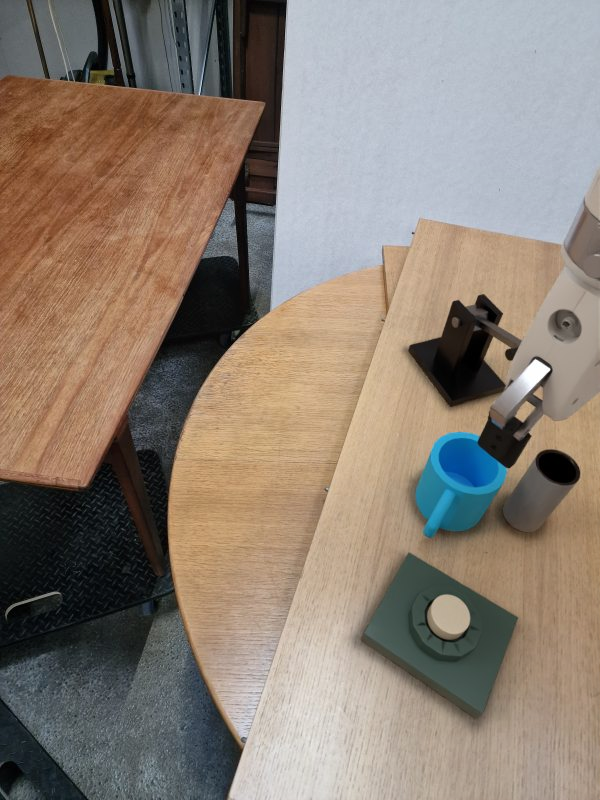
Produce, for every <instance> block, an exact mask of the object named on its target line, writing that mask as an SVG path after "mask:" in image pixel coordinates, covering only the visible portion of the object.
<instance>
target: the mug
mask: <svg viewBox="0 0 600 800" xmlns="http://www.w3.org/2000/svg"><path fill="white" fill-rule="evenodd" d="M479 437H480V435H478V434H475V433H472V432H466V431H454V432H448V433H446V434H444V435H441V436H440V437H439V438H437V440H436V441H435V442H433V445H432V448H431V450H430V453H429V455H428V457H427V460H426V463H425V465H424V468H423V471H422V473H421V476H420V478H419V480H418V483H417V485H416V488H415V492H414V493H415V495H414V497H415V503H416V505H417V508H418V510H419V511H420V513H421V515H422V516H423V517H424V519H426V521H427V522H426V524H425V525H424V528H423V530H422V534H423V536H424V537H425V538H427V539H433V538H434V537H435V536H436V534H437V532H438V531H439V529H442V530H445V531H450V532H455V533H457V532H463V531H468V530H469V529H472V528H474V527H476V525H477V524H478V523H479V522H480V521H481V519H482V518H483V517H484V515H485V514H486V512H487V509H488V508H489V507H490V505H491V504H492V502H493V500H494V499H495V497H496V496H497V494H498V492H499V491H500V489H501V488H502V486H503V484H504V483H505V481H506V477H507V474H508V468H506V467H504V466H503V465H502V464H501V463H499V462H498V461H497V460H496V459H494V458H493V457H491V456H490V455H489V454H488V453H487V452H486V451H484V450H483V449H482V448H481V447H480V446H479V445H478V443H477V442H478V439H479Z"/></svg>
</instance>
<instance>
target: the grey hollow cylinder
mask: <svg viewBox="0 0 600 800" xmlns="http://www.w3.org/2000/svg"><path fill="white" fill-rule="evenodd" d="M580 479H581V469H580V466H579V464H578V462H577V461H575V459H574V458H573V457H572V456H570V455H569V454H568V453H566V452H564V451H562V450H558V449H552V448H550V449H549V448H548V449H543V450H541V451H539V452H538V453H537V454H536V456H535V457H534V459H533V460H532V461H531V463H530V464H529V466H528V468H527V469H526V470H525V472H524V474H523V475H522V476H521V478H520V480H519V481H518V483H516V486H515V487H514V488H513V490H512V491H511V493H510V494H509V496H508V497H507V499H506V501H505V503H504V504H503V506H502V513H503V517H504V519H505V520H506V522H507V523H508V524H509V526H511V527H512V528H514V529H515V530H517V531H520V532H523V533H534V532H536V531H538V530H539V529H540V528H541V527H542V526H543V525H544V523H546V521H547V520H548V518H549V517H550V516H552V513H553V512H554V511H555V510H556V509H557V507H558V506H559V505H560V504H561V503H562V501H563V500H564V499H565V498H566V497H567V496H568V494H569V493H570V492H571V490H572V489H573V488H574V487H575V486H576V484H577V483H578V482H579V481H580Z"/></svg>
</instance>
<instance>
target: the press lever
mask: <svg viewBox="0 0 600 800" xmlns="http://www.w3.org/2000/svg"><path fill="white" fill-rule="evenodd" d="M465 307H466V308H467V309H468V310H469V311H470V312H471V314H472V315H473V316H474V317H475V318H476V319H477V323H476V325H475V328H474V330H473V331H477V330H481V329H482V330H484V331H485V332H487V333H488V334H490V335H492V336H493V338H495V339H496V340H498V341H500V343H503V344H504V345H506V346H508V347H509V348H507V349H505V351H504V357H505V359H506V360H507V361H509V362H512V360H513V358H514V356H515V354H516V352H517V350H518V348H519V346H520V344H521V342H522V340H523V339H521V338H519V337H517V336H516V335H514V334H512V333H511V332H509V331H507V330H505V329H504V328H502V327H500V326H499V325H498V326H497V325H495V324H494V323H492V322H490V321H489V320H487V318H488V311H486V310H484V309H482V308H481V307H479V306H477V305H476V304H475V303H474V304H471V305H467V306H466V305H465Z"/></svg>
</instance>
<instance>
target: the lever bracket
mask: <svg viewBox="0 0 600 800" xmlns="http://www.w3.org/2000/svg"><path fill="white" fill-rule="evenodd" d="M475 304H476V305H477V306H479V307H481V308H482V309H484V310H486V311H488V318H487V320H489V321H490V322H492V323H494V324H495V325H497V326H499V325H500V322H501V320H502V317H503V316H504V313H503V311H501V310H500V308H499V307H498V306H496V304H495V303H493V301H492V300H491V299H490V298H488V296H487V295H485V293H482V294H478V295H477V297H476V300H475V303H474V305H475ZM447 314H448V315H447V318H446V320H445V324H444V327H443V330H442V333H441V336H439V337H435V338H431V339H428V340H424V341H420V342H416V343H412V344H409V346H408V349H407V351H408V352H409V354H410V355H411V356H412V358H413V359H414V361H415V362H416V363H417V365H418V366H419V367H420V368H421V370H422V371H423V373H424V374H425V375H426V377H427V378H428V379H429V380H430V382H431V383H432V384H433V386H434V387H435V388H436V390H437V391H438V393H439V394H440V395H441V397H442V398H443V399H444V400H445V402H446V403H447V404H448V406H449V407H450V408H451V407H453V406H458V405H460V404H461V405H462V404H464V403H468V402H470V401H474V400H477V399H481V398H484V397H488V396H490V395H495V394H497V393H502V392H504V391H505V390H506V388H507V386H506V383H505V382H504V381H503V380H502V379H501V377H499V375H497V373H496V372H495V371H494V370H493V368H492V367H491V366H490V365H489V364H488V362H487V361H485V357H486V355H487V353H488V351H489V348H490V346H491V344H492V341H493V338H494V337H493V336H492V335H490V334H488V333H487V332H485V331H484V330H482V329H481V330H477V331H473V330H474V328H475V325H476V323H477V319H476V318H475V317H474V316H473V315H472V314H471V312H470V311H469V310H468V309H467V308H466V305H464V303H462V302H461V301H460V299H456V300H453V301H452V303H451V305H450V309H449V311H448V313H447Z"/></svg>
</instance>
